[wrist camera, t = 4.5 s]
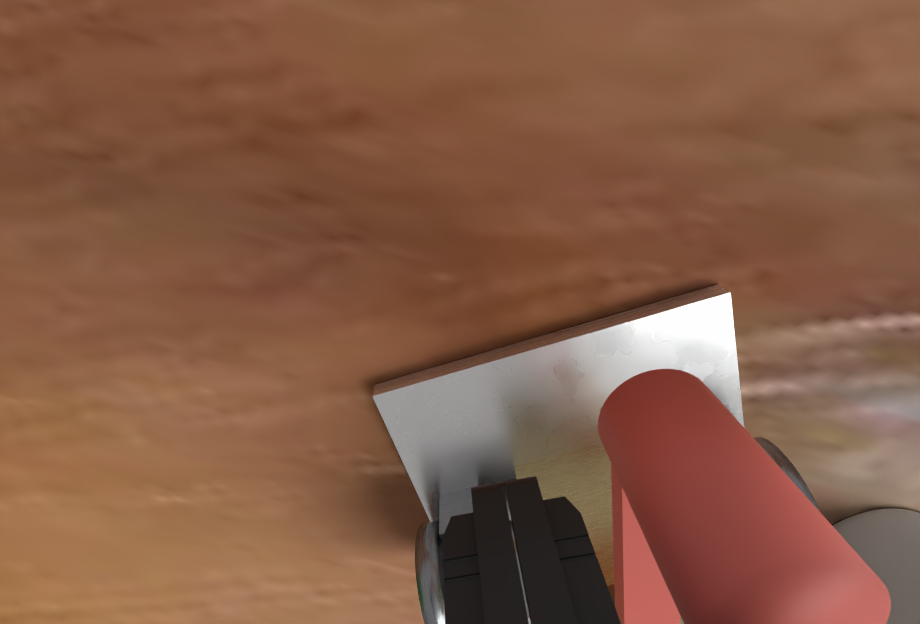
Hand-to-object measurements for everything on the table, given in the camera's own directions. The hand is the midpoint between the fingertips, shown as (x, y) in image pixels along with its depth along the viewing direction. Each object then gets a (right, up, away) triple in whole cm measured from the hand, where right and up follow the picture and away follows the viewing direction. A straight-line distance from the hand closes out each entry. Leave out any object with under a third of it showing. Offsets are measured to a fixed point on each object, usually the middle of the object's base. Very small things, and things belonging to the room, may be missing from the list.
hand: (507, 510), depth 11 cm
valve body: (+5, -4, +15) cm, 16 cm away
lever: (+5, -3, +5) cm, 7 cm away
